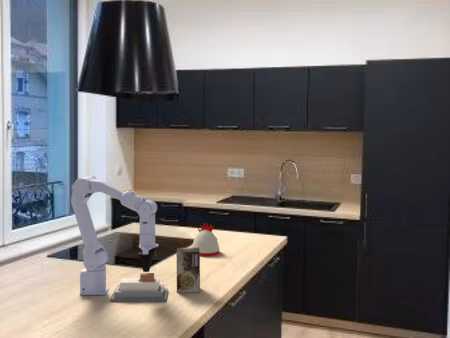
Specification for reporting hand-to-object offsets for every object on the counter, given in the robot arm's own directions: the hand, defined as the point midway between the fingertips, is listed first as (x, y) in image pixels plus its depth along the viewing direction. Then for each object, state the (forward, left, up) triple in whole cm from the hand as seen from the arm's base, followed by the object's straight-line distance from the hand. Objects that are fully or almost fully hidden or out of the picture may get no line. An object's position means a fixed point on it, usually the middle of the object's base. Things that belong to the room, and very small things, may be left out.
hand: (147, 268), depth 198 cm
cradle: (-3, 0, -10) cm, 11 cm away
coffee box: (+15, +7, -11) cm, 20 cm away
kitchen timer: (+22, +66, -11) cm, 70 cm away
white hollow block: (-3, 0, -9) cm, 10 cm away
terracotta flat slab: (0, 0, -8) cm, 8 cm away
